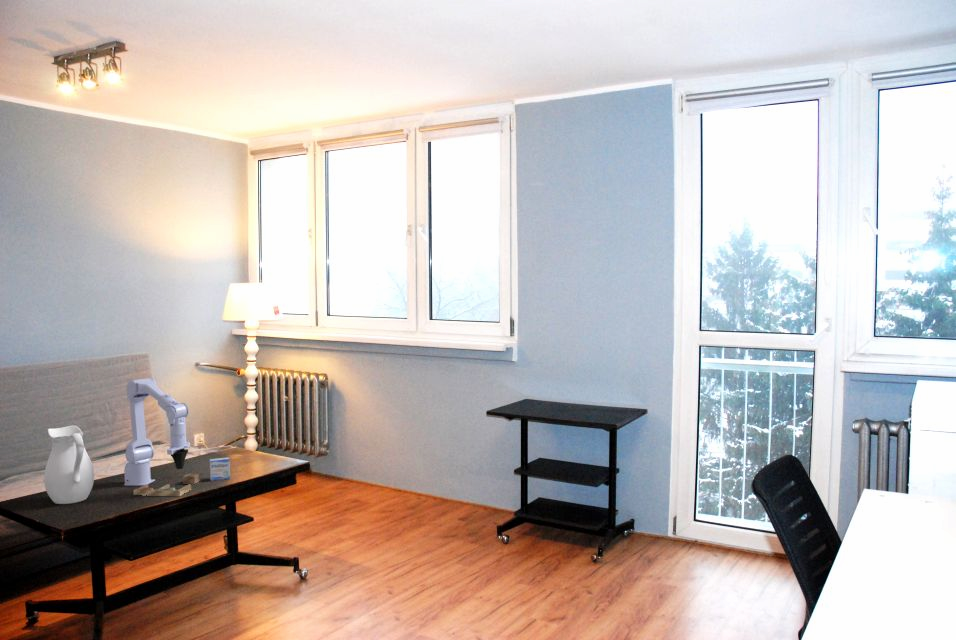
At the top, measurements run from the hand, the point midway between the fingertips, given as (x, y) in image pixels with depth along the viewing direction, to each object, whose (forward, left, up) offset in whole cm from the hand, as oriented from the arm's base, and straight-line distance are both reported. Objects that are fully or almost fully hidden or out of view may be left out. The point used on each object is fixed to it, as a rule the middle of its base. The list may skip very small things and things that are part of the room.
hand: (179, 468), depth 298 cm
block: (-3, +14, -10) cm, 17 cm away
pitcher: (-36, -14, -10) cm, 40 cm away
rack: (-7, -1, -9) cm, 12 cm away
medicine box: (+7, +20, -10) cm, 23 cm away
